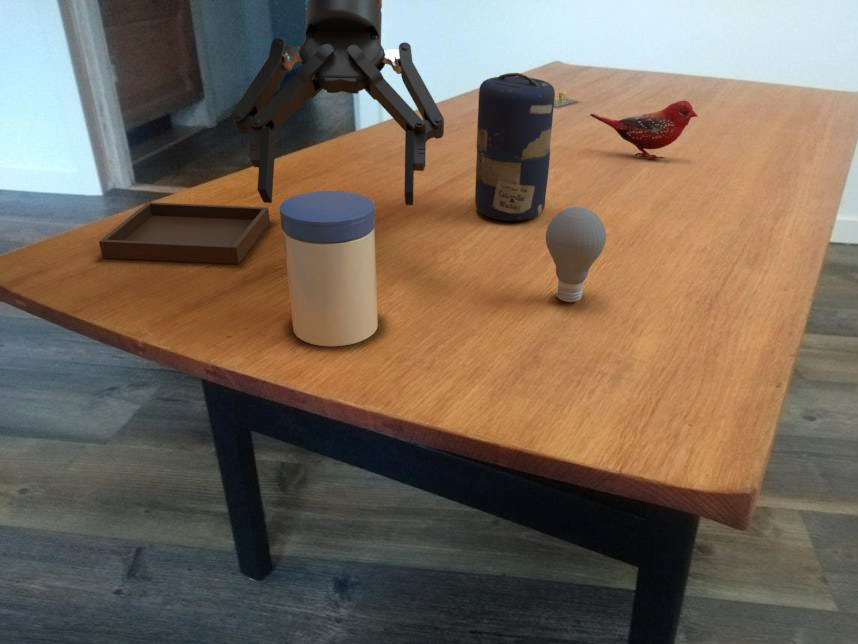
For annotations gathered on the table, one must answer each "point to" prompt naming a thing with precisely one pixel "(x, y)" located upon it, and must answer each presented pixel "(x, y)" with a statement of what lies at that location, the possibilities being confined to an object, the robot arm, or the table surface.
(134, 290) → the table surface
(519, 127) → the canister
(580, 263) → the light bulb
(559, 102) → the dice set
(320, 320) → the jar
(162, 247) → the tray
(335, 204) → the jar lid
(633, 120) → the decorative bird figurine
